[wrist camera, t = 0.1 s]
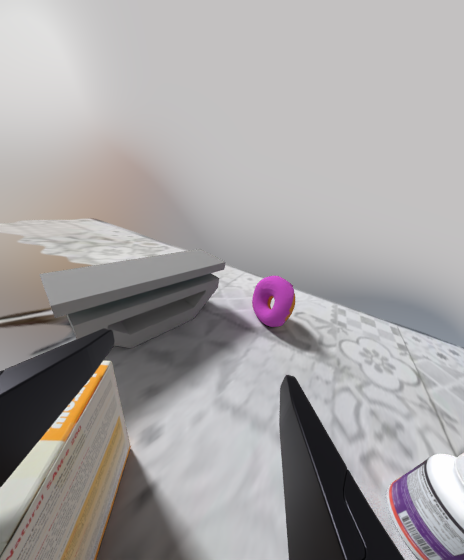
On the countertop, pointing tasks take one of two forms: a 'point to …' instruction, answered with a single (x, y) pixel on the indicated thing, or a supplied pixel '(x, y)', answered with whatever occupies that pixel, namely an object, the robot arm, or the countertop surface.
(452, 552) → the pill bottle
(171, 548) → the countertop surface
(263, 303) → the donut
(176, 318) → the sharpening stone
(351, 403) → the countertop surface
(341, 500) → the robot arm
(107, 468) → the supplement box
